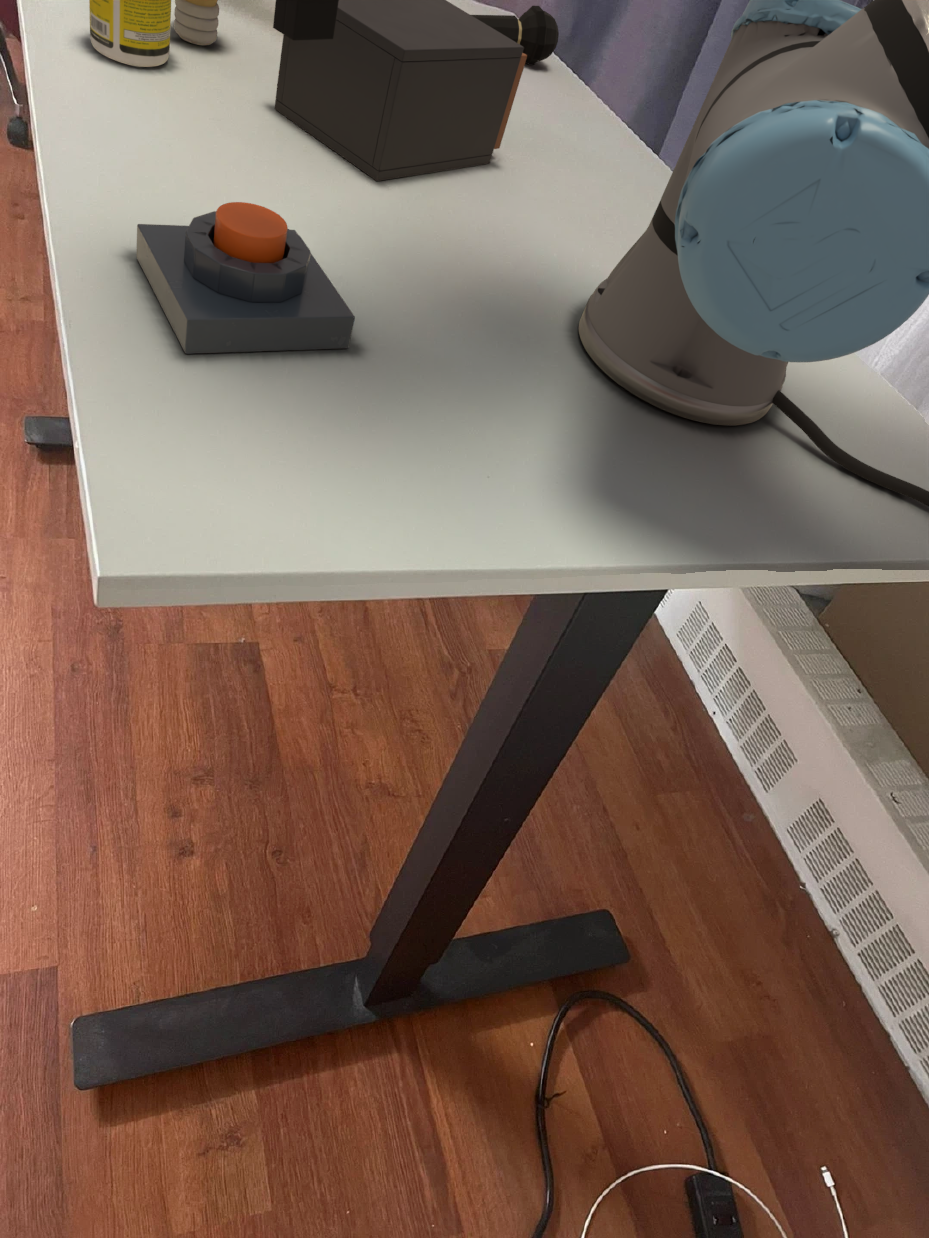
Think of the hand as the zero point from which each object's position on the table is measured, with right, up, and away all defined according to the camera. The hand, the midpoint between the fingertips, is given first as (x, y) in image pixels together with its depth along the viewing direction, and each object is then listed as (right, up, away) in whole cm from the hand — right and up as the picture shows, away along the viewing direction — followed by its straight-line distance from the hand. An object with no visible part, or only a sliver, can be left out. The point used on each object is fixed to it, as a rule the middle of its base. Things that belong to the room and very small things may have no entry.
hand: (303, 33), depth 45 cm
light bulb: (-16, +23, +36) cm, 45 cm away
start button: (-4, -8, +7) cm, 12 cm away
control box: (-6, -10, +10) cm, 15 cm away
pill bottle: (-20, +18, +30) cm, 40 cm away
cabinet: (+1, +13, +33) cm, 36 cm away
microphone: (+9, +36, +58) cm, 69 cm away
